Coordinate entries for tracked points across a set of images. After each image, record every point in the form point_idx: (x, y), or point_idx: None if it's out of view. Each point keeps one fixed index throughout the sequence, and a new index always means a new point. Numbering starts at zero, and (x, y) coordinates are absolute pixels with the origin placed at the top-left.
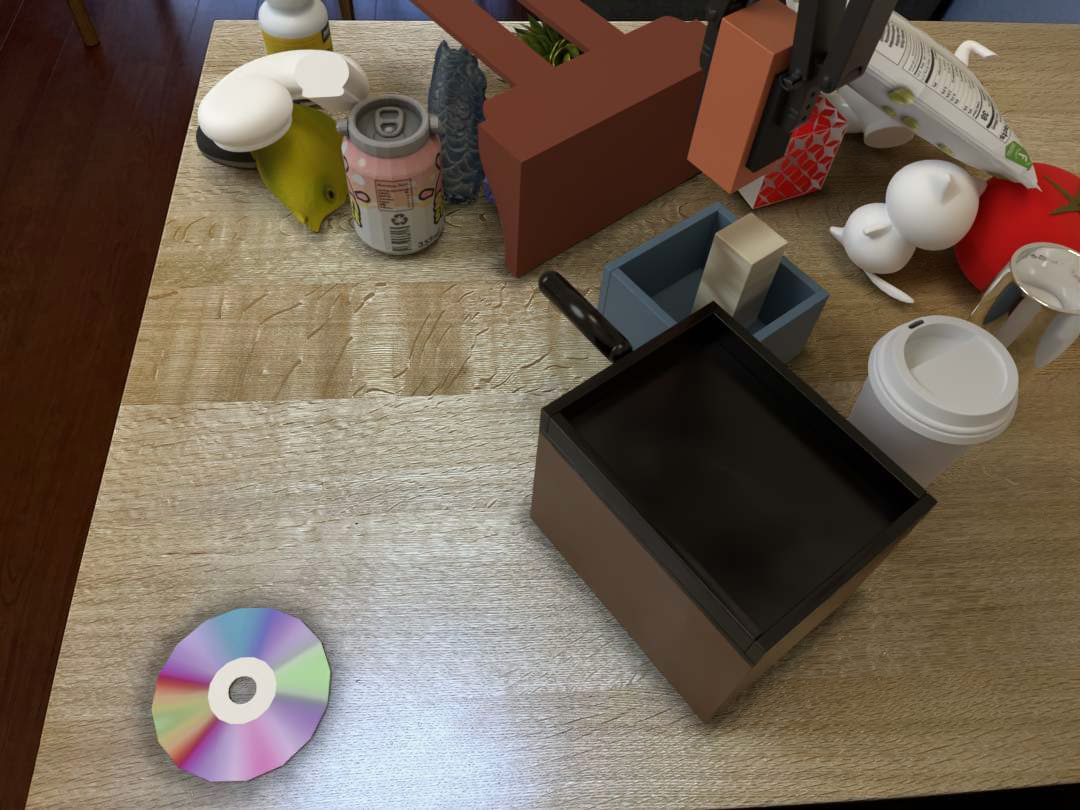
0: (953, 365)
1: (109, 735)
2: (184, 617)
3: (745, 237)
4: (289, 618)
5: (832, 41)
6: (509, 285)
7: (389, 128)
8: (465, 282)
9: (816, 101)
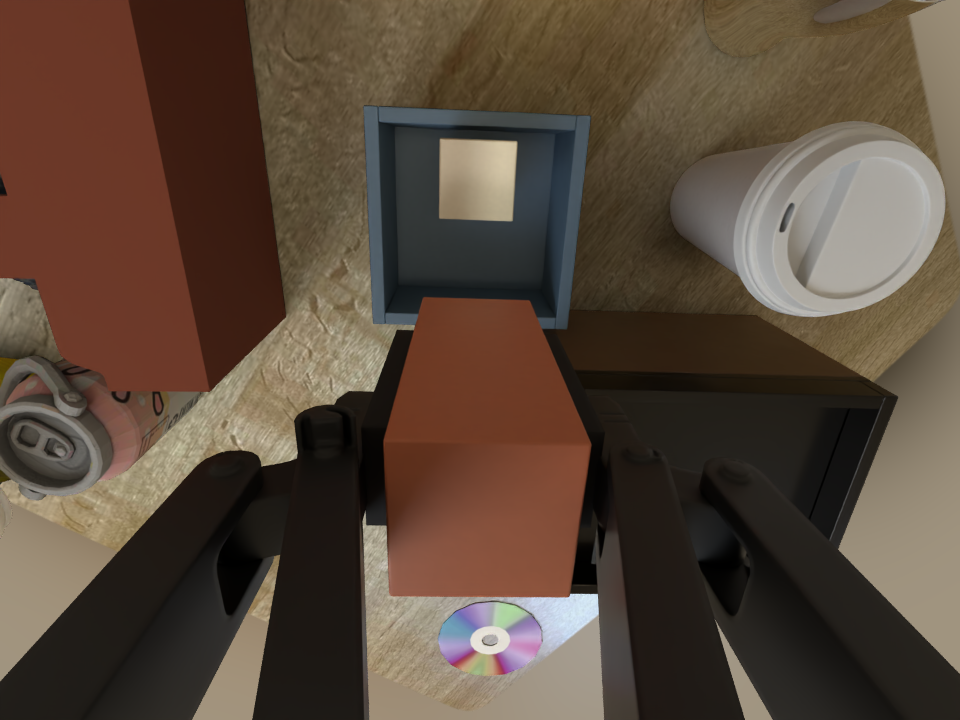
0: (853, 231)
1: (465, 688)
2: (427, 644)
3: (471, 189)
4: (469, 607)
5: (735, 654)
6: (291, 327)
7: (59, 452)
8: (263, 360)
9: (631, 426)
